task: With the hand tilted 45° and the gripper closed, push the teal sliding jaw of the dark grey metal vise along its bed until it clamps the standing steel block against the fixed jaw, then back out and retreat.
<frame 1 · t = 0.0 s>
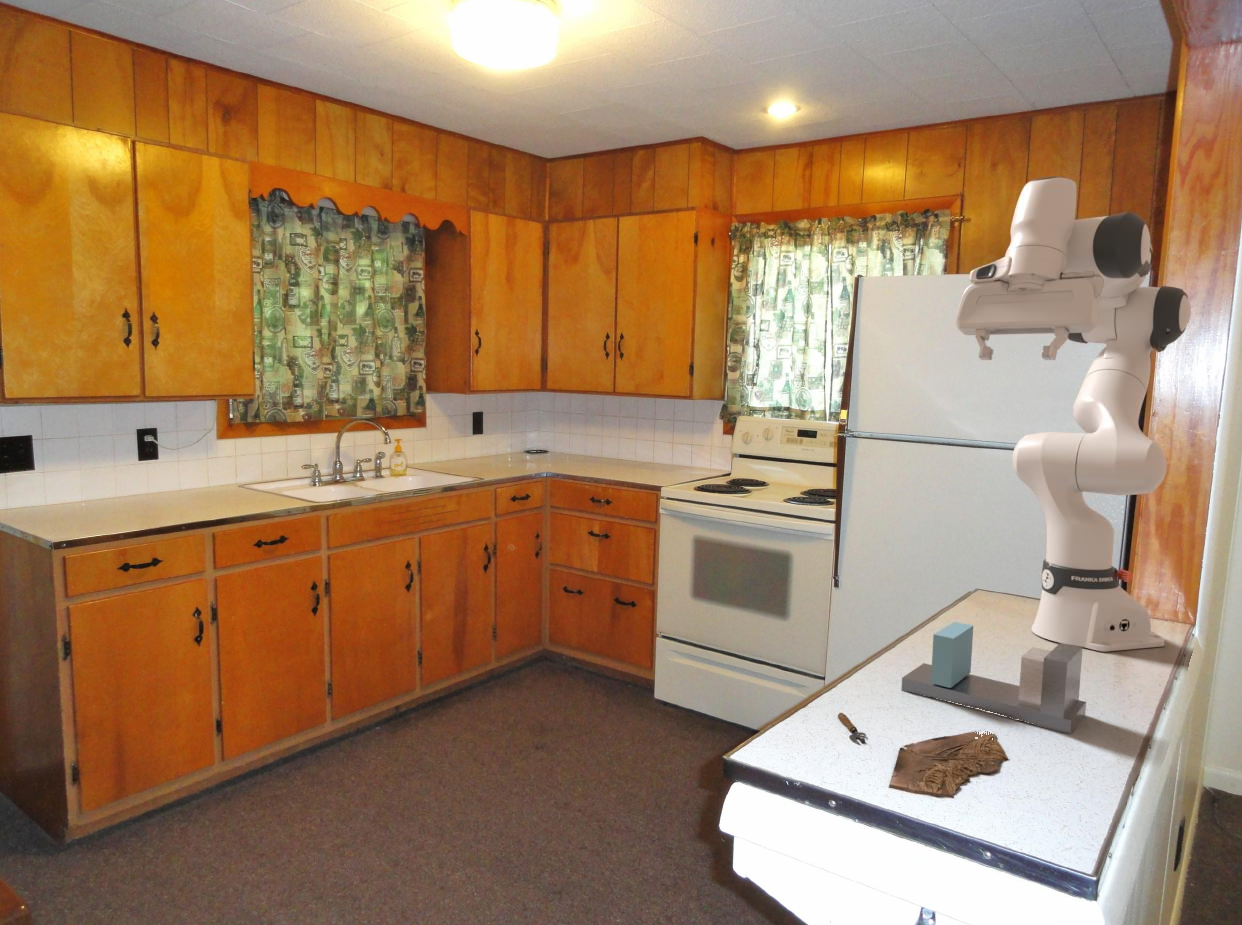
hand: (1015, 359, 129), 52 cm above the counter, tool tilted 20°, fingers open, 8 cm apart
slide jaw: (952, 653, 130), point 6 cm above the counter, slide at 0.0 cm
wooden fragment: (949, 762, 108), on the counter
vise bed: (990, 702, 127), on the counter
steel block: (1035, 700, 123), point 2 cm above the counter, touching vise bed
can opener: (850, 733, 116), on the counter
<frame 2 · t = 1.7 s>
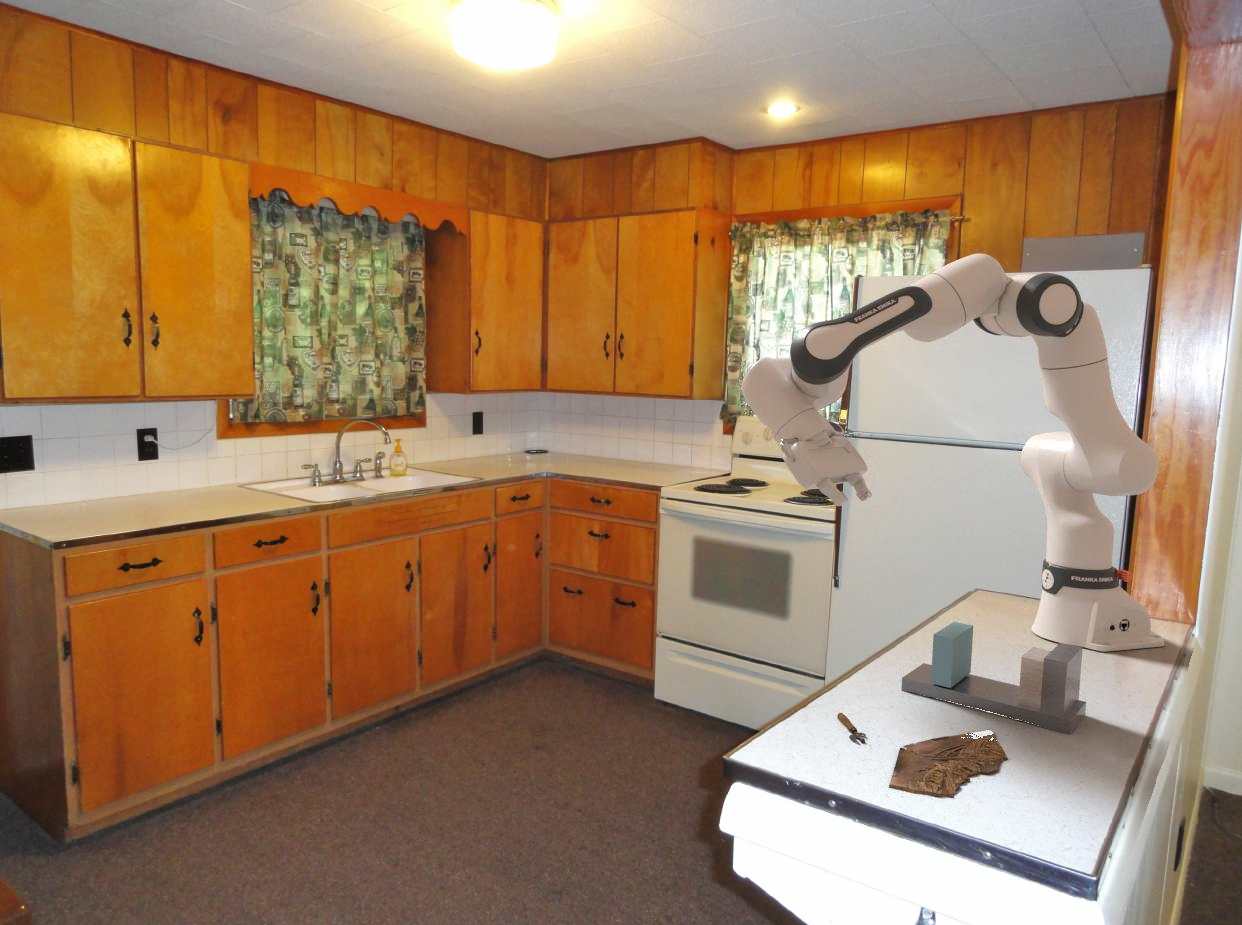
hand: (855, 501, 139), 28 cm above the counter, tool tilted 45°, fingers open, 8 cm apart
nothing on the counter moved.
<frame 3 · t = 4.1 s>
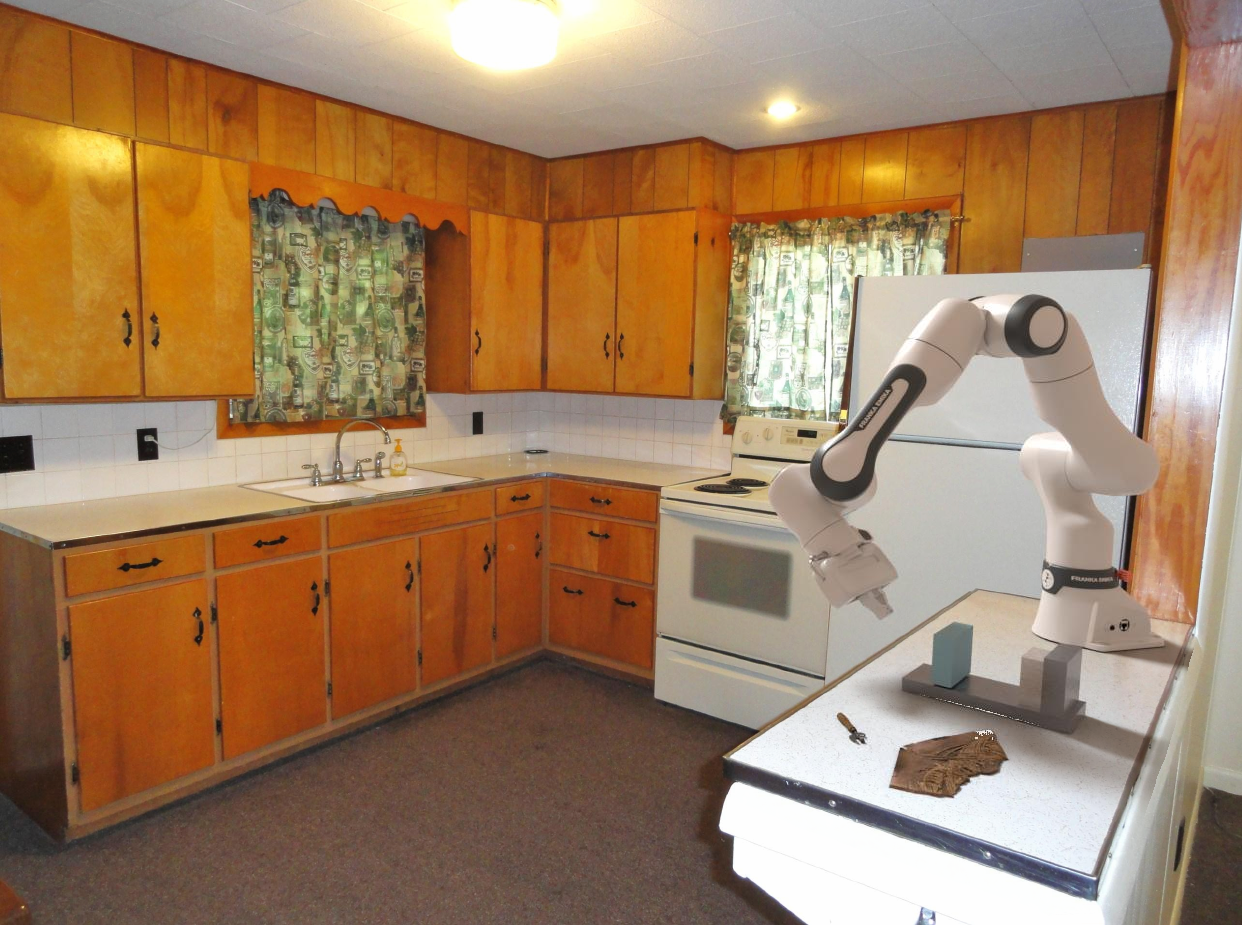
hand: (887, 616, 137), 10 cm above the counter, tool tilted 45°, fingers closed
nothing on the counter moved.
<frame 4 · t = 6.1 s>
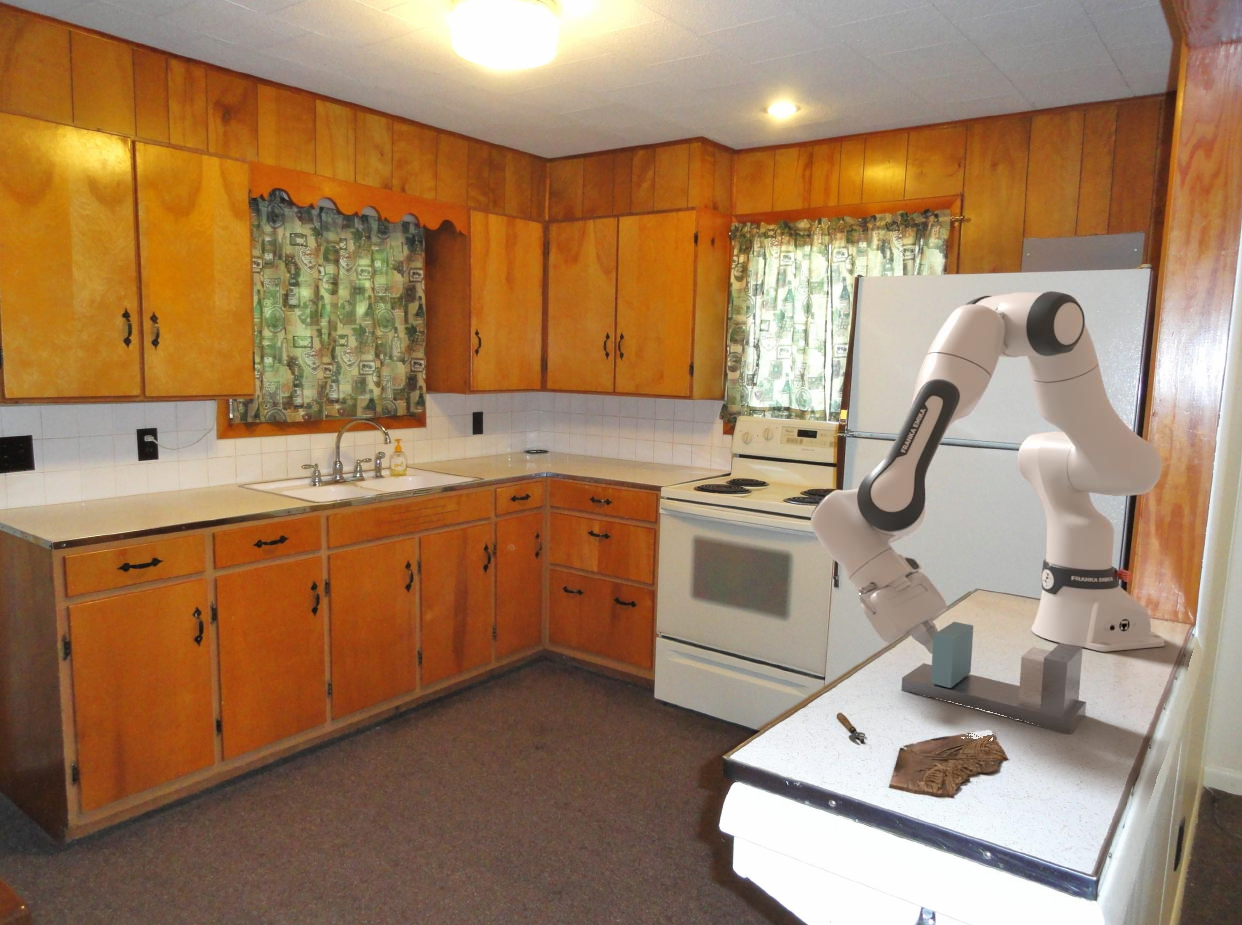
hand: (939, 649, 131), 6 cm above the counter, tool tilted 45°, fingers closed, pressing on slide jaw
slide jaw: (952, 653, 130), point 6 cm above the counter, slide at 0.0 cm, touching gripper
everything else where it was.
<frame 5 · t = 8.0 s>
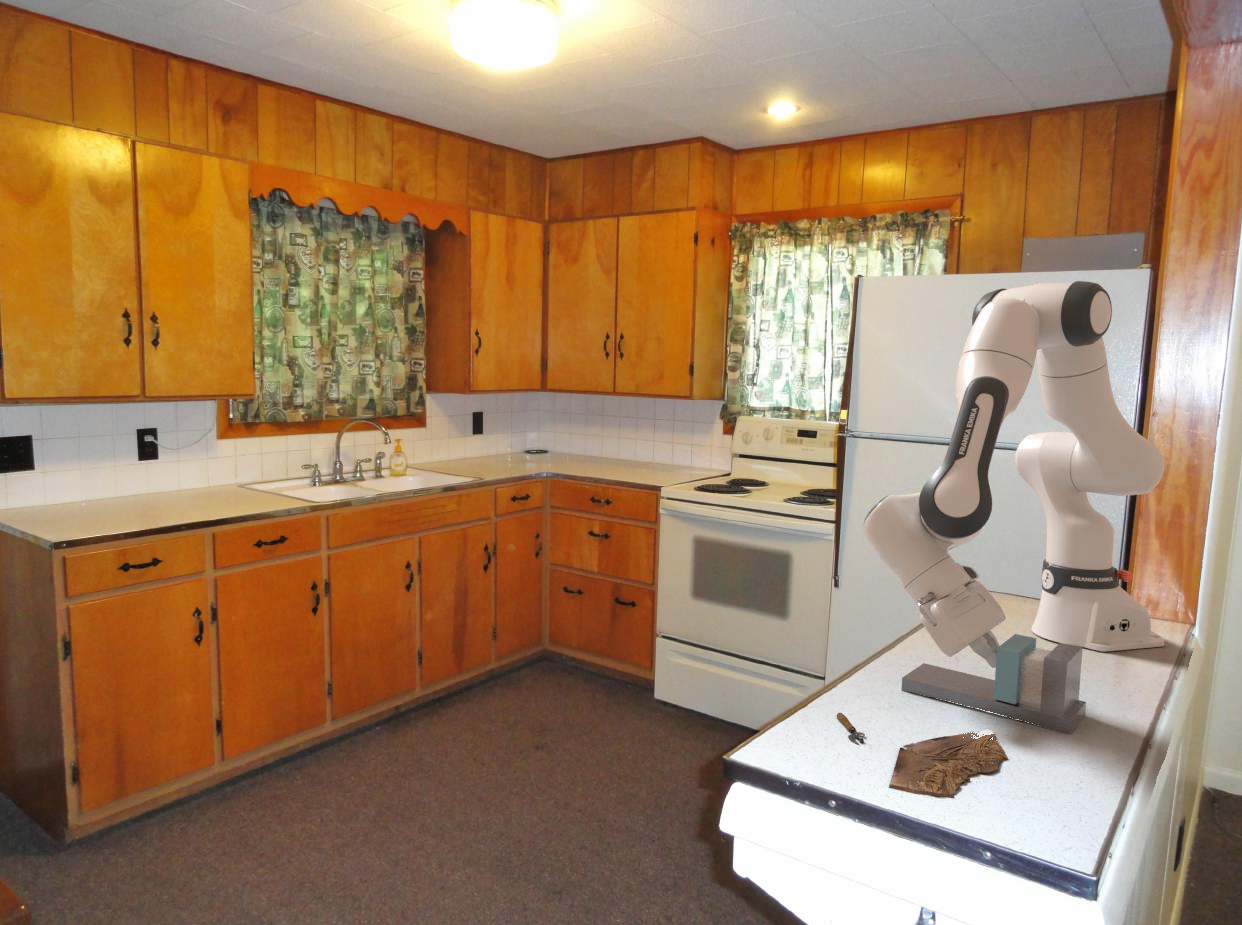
hand: (1000, 663, 125), 6 cm above the counter, tool tilted 45°, fingers closed, pressing on slide jaw
slide jaw: (1015, 668, 124), point 6 cm above the counter, slide at 9.2 cm, touching gripper, steel block
steel block: (1035, 700, 123), point 2 cm above the counter, touching slide jaw, vise bed
everything else where it was.
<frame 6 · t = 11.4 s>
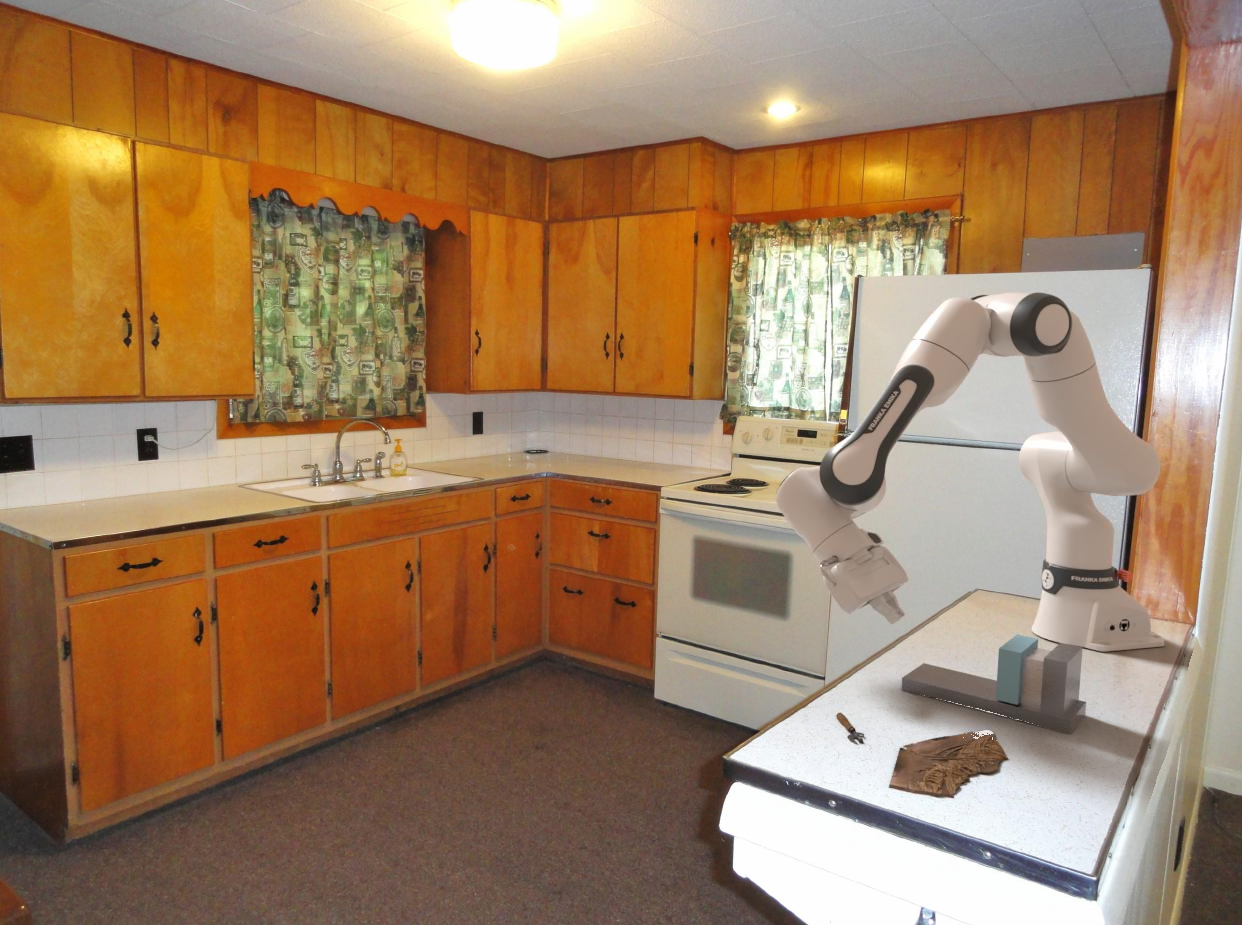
hand: (898, 620, 135), 10 cm above the counter, tool tilted 45°, fingers closed
slide jaw: (1017, 668, 124), point 6 cm above the counter, slide at 9.5 cm
steel block: (1037, 700, 122), point 2 cm above the counter, touching vise bed
everything else where it was.
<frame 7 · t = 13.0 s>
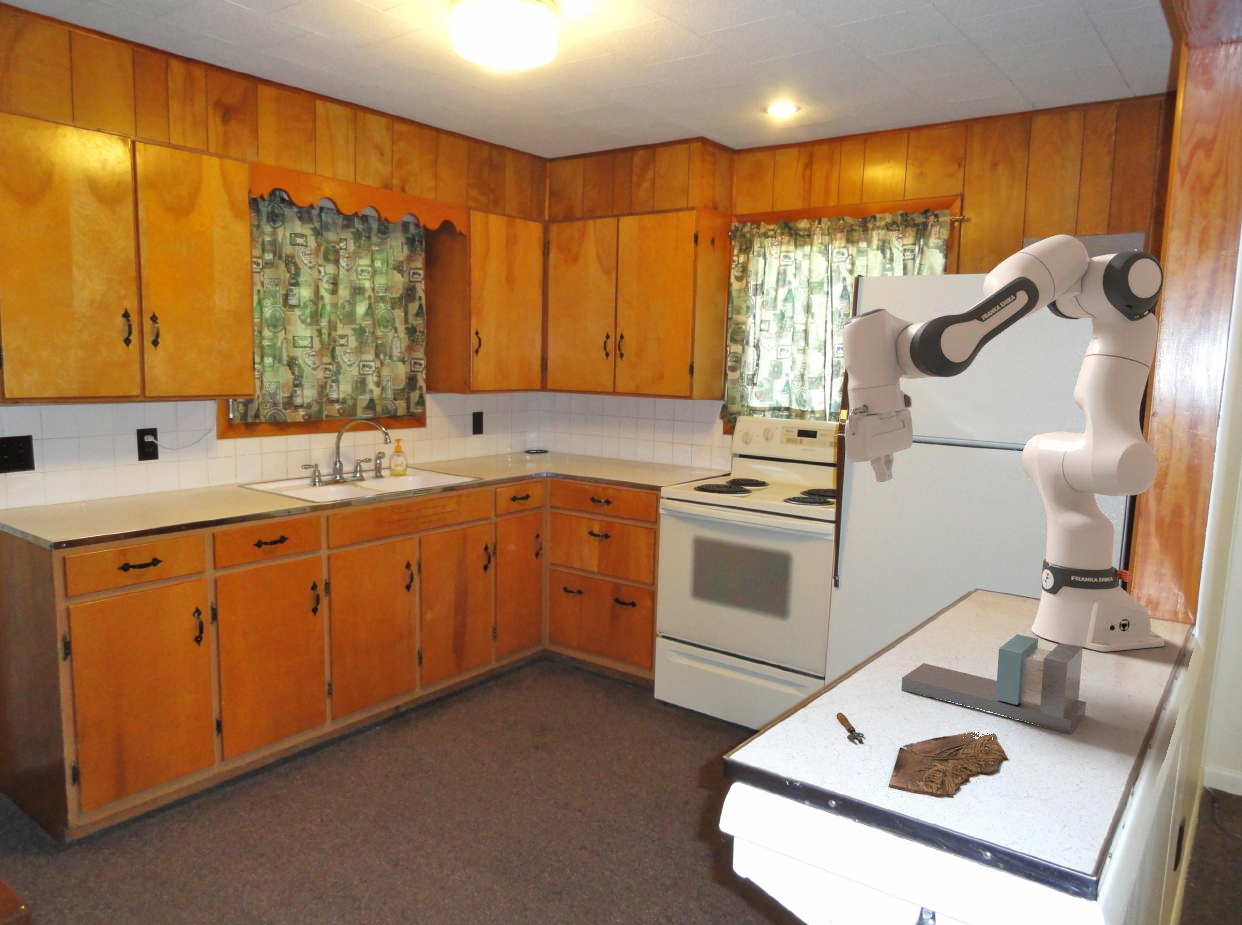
hand: (884, 480, 148), 31 cm above the counter, tool pointing down, fingers closed
nothing on the counter moved.
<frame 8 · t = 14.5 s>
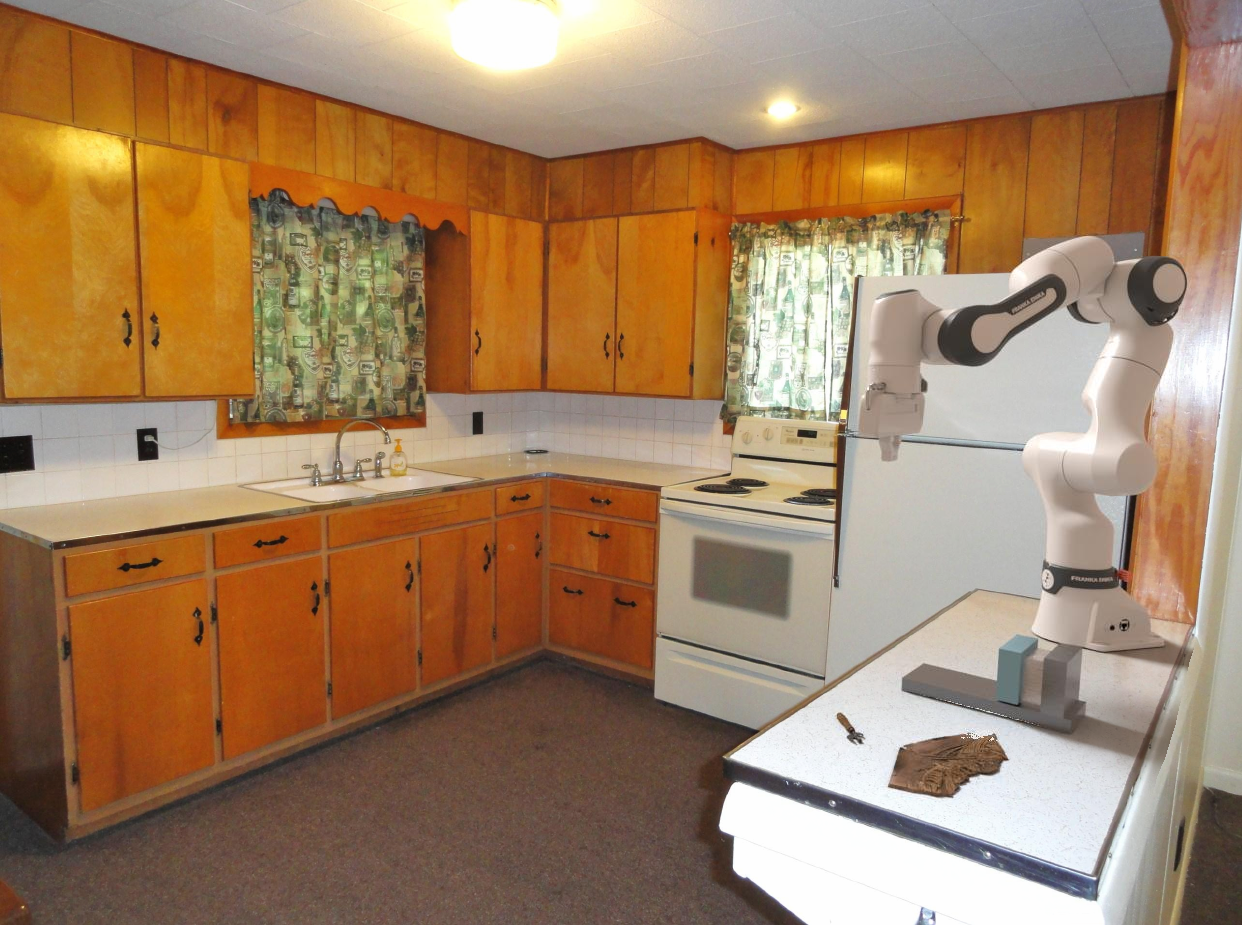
hand: (889, 460, 148), 34 cm above the counter, tool pointing down, fingers closed
nothing on the counter moved.
at the end: slide jaw slide at 9.5 cm; steel block tilted 0°; steel block 0.0 cm from the target spot on the vise bed, point 2.0 cm above the vise bed's base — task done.
